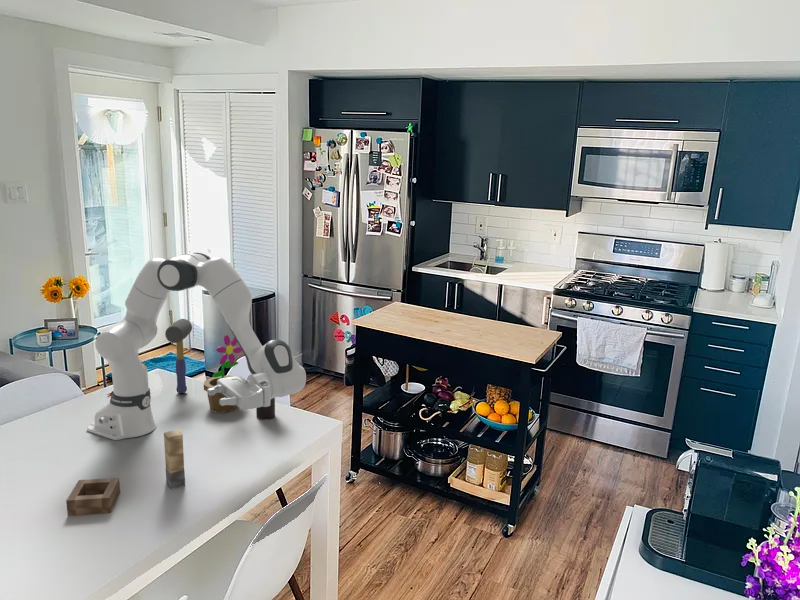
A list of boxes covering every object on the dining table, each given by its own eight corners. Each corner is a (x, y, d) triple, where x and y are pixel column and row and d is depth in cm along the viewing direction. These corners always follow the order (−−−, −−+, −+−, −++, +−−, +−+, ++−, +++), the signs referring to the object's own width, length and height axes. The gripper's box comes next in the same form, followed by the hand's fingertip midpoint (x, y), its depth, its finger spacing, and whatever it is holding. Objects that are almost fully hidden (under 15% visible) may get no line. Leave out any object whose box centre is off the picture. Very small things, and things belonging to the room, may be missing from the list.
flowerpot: (222, 417, 222) (220, 339, 216) (196, 408, 230) (193, 332, 223) (251, 405, 234) (249, 331, 227) (225, 397, 241) (223, 324, 235)
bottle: (278, 415, 226) (278, 364, 222) (265, 421, 220) (265, 369, 216) (265, 411, 229) (265, 361, 225) (252, 417, 224) (251, 365, 219)
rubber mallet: (186, 399, 238) (182, 326, 231) (166, 398, 237) (163, 325, 231) (196, 387, 250) (193, 317, 243) (177, 387, 250) (174, 317, 243)
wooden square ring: (120, 492, 171) (119, 477, 170) (110, 512, 161) (109, 497, 160) (80, 494, 169) (78, 480, 168) (67, 515, 159) (66, 500, 158)
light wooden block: (180, 479, 179) (178, 429, 176) (185, 485, 176) (182, 434, 173) (166, 483, 177) (163, 432, 173) (170, 489, 174) (168, 438, 170)
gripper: (243, 368, 194) (200, 377, 186) (271, 388, 178) (226, 398, 170) (243, 387, 195) (201, 396, 187) (272, 408, 180) (227, 418, 171)
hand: (213, 397), depth 178 cm, fingers open, 8 cm apart
